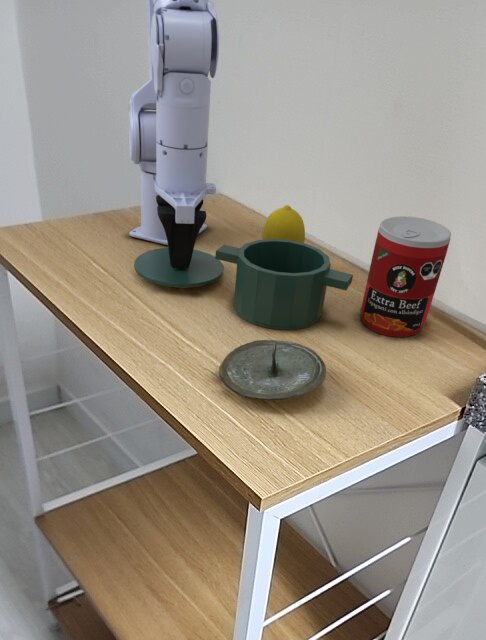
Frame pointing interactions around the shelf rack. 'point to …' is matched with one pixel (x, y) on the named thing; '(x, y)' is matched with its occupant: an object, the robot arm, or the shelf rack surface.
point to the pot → (281, 282)
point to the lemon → (284, 225)
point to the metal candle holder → (272, 370)
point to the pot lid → (178, 269)
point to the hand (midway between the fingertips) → (179, 262)
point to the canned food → (403, 275)
